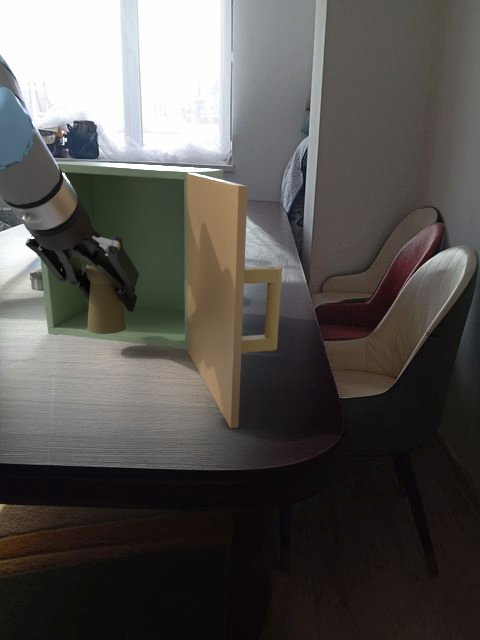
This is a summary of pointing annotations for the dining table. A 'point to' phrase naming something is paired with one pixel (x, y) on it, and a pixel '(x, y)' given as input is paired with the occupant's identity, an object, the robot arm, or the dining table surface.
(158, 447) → the dining table surface
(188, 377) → the dining table surface
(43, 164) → the robot arm
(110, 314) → the olive brown pawn
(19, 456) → the dining table surface
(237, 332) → the cabinet door
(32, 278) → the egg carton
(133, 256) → the cabinet
